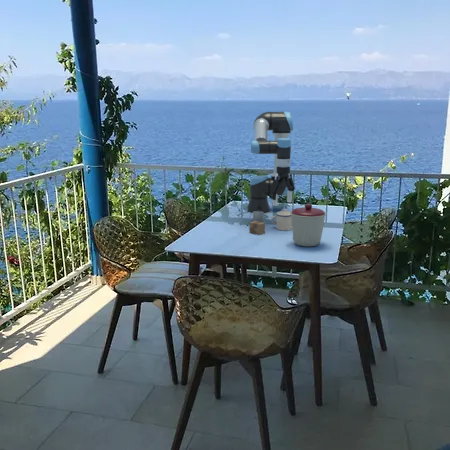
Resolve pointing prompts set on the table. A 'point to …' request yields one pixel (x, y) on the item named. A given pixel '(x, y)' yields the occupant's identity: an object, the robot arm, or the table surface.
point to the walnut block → (257, 227)
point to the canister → (307, 225)
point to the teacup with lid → (283, 220)
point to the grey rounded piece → (258, 216)
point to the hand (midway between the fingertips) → (282, 203)
